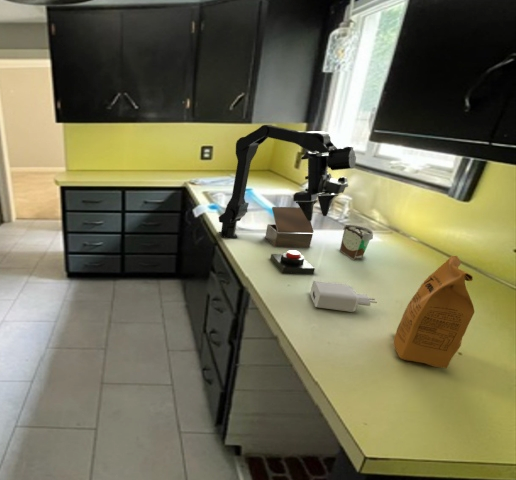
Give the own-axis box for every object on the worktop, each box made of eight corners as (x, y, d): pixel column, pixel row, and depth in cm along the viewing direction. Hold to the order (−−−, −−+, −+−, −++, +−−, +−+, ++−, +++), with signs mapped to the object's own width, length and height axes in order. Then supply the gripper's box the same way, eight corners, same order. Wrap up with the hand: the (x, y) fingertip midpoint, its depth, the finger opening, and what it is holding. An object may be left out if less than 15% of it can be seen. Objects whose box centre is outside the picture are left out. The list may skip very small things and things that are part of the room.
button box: (270, 259, 130) (272, 249, 128) (298, 260, 130) (300, 249, 128) (282, 273, 119) (284, 262, 117) (313, 274, 119) (316, 263, 117)
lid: (271, 208, 146) (272, 206, 145) (305, 208, 145) (306, 207, 144) (277, 232, 140) (278, 231, 139) (312, 233, 139) (313, 231, 138)
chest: (265, 237, 152) (267, 224, 150) (297, 237, 152) (300, 224, 149) (274, 246, 142) (277, 233, 139) (309, 247, 141) (313, 233, 139)
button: (284, 254, 125) (285, 249, 124) (296, 254, 125) (297, 250, 124) (289, 259, 121) (290, 254, 120) (301, 259, 121) (302, 254, 120)
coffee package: (443, 346, 83) (485, 258, 74) (451, 376, 74) (499, 280, 65) (391, 332, 88) (423, 248, 79) (392, 358, 79) (429, 267, 70)
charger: (379, 317, 95) (315, 308, 98) (367, 300, 103) (309, 293, 107) (384, 301, 93) (320, 293, 97) (372, 286, 101) (313, 279, 105)
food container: (373, 261, 128) (382, 235, 124) (356, 261, 128) (364, 235, 124) (353, 249, 140) (361, 224, 135) (337, 249, 140) (344, 224, 135)
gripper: (326, 173, 109) (325, 224, 113) (358, 166, 118) (356, 214, 122) (292, 176, 119) (292, 223, 123) (324, 169, 128) (323, 213, 132)
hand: (317, 218), depth 125 cm, fingers open, 9 cm apart
